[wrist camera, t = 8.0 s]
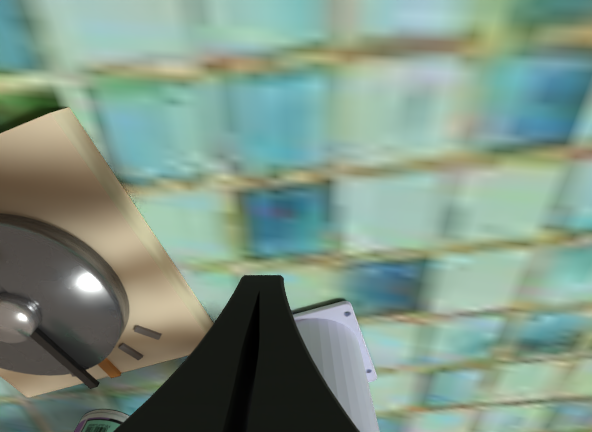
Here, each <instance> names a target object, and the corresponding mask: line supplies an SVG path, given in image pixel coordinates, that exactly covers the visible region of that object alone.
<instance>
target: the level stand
mask: <svg viewBox="0 0 592 432" xmlns="http://www.w3.org/2000/svg"><path fill="white" fill-rule="evenodd" d="M0 213H3V214H12V215H18V216H23V217H27V218H31V219H35V220H38V221H41V222H44V223H46V224H49V225H52V226H54V227H56V228H58V229H61V230H63V231H65V232H67V233H69V234H70V235H72V236H74V237H76V238H77V239H79V240H81V241H82V242H83V243H85V244H86V245H88V246H89V247H90V248H92V249H93V250H94V251H95V252H96V253H98V254H99V255H100V256H101V257H102V258H103V259H104V260H105V261H106V262H107V263H108V264H109V265H110V266H111V267H112V269H113V270H114V271H115V273H116V274H117V275H118V277H119V279H120V280H121V282H122V284H123V286H124V288H125V291H126V293H127V296H128V301H129V312H130V313H129V319H128V323H127V325H126V328H125V330H124V332H123V333H122V335H121V337H120V339H119V340H118V342H117V344H116V345H115V347H114V349H113V350H112V352H111V353H110V354H109V355H108V357H107V358H106V359H104V360H103V361H102V362H100V363H99V364H97V365H95V366H94V367H92V368H89V369H87V370H86V371H87V372H88V373H89V374H90V375H92V376H93V377H94V378H95V379H96V380H97V379H101V378H105V377H108V376H110V377H111V378H114V377H118V376H120V375H121V373H124V372H127V371H131V370H135V369H139V368H143V367H146V366H150V365H154V364H158V363H161V362H165V361H169V360H173V359H177V358H180V357H184V356H188V355H190V354H191V353H192V351H193V350H194V349H195V348H196V347H197V345H198V344H199V343H200V341H201V340H202V339H203V337H204V336H205V335H206V333H207V332H208V331H209V329H210V328H211V327H212V325H213V324H214V323H213V321H212V320H211V318H210V317H209V315H208V314H207V312H206V311H205V309H204V308H203V307H202V305H201V304H200V302H199V301H198V299H197V298H196V296H195V295H194V293H193V292H192V290H191V289H190V287H189V286H188V284H187V283H186V281H185V280H184V278H183V277H182V275H181V274H180V272H179V271H178V269H177V268H176V266H175V265H174V263H173V262H172V260H171V259H170V257H169V256H168V254H167V253H166V251H165V250H164V248H163V247H162V245H161V244H160V242H159V241H158V239H157V238H156V236H155V235H154V233H153V232H152V230H151V229H150V227H149V226H148V224H147V223H146V221H145V220H144V218H143V217H142V215H141V214H140V212H139V211H138V209H137V208H136V206H135V205H134V203H133V202H132V200H131V199H130V197H129V196H128V194H127V193H126V191H125V190H124V188H123V187H122V185H121V184H120V182H119V181H118V179H117V178H116V176H115V175H114V173H113V172H112V170H111V169H110V167H109V166H108V164H107V163H106V161H105V160H104V158H103V157H102V155H101V154H100V152H99V151H98V149H97V148H96V146H95V145H94V143H93V142H92V141H91V139H90V138H89V136H88V135H87V133H86V132H85V130H84V129H83V127H82V126H81V124H80V123H79V121H78V120H77V118H76V117H75V115H74V114H73V112H72V111H71V109H70V108H69V107H68V108H65V109H61V110H58V111H55V112H51V113H49V114H46V115H44V116H41V117H39V118H37V119H34V120H32V121H29V122H27V123H25V124H22V125H20V126H17V127H15V128H12V129H10V130H8V131H5V132H3V133H0ZM0 376H1V377H2V378H3V379H5V380H6V381H7V382H8V383H10V384H11V385H12V386H13V387H15V388H16V389H17V390H18V391H20V392H21V393H22V394H24V395H25V396H26V397H27V398H29V397H33V396H36V395H40V394H44V393H48V392H52V391H55V390H59V389H63V388H67V387H71V386H74V385H78V384H82V383H83V382H82V381H81V380H80V379H78V378H77V377H76V376H75V375H74V374H66V375H53V376H46V375H32V374H24V373H19V372H14V371H10V370H6V369H2V368H0Z"/></svg>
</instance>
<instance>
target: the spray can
mask: <svg viewBox="0 0 592 432" xmlns="http://www.w3.org/2000/svg"><path fill="white" fill-rule="evenodd" d="M128 417H130V416H128V415H126V414H124V413H121V412H118V411H113V410H94V411H91V412H88V413H86V414H85V415H84V416H83V417H82V419H81V421H80V422H79V424H78V425H77V427H76V429H75V431H74V432H113V431H114V430H115V429H116V428H117V427H118V426H120V425H121V424H122V423H123V422H124V421H125V420H126V419H127V418H128Z"/></svg>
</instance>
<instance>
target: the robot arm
mask: <svg viewBox="0 0 592 432" xmlns="http://www.w3.org/2000/svg"><path fill="white" fill-rule="evenodd" d="M347 311H348V312H347ZM345 312H347V313H345ZM376 379H377V375H376V371H375V369H374V366H373V363H372V360H371V358H370V355H369V352H368V349H367V347H366V344H365V341H364V338H363V335H362V333H361V330H360V327H359V324H358V322H357V319H356V316H355V313H354V310H353V308H352V305H351V303H350V302H348V301H342V302H338V303H334V304H330V305H327V306H323V307H319V308H316V309H312V310H308V311H305V312H301V313H297V314H293V315H292V312H291V309H290V306H289V303H288V300H287V296H286V292H285V288H284V278H283V277H282V276H281V275H244V276H243V277H242V278H241V280H240V282H239V284H238V286H237V288H236V289H235V291H234V293H233V295H232V296H231V298H230V300H229V301H228V303H227V305H226V306H225V308H224V309H223V311H222V312H221V314H220V315H219V317H218V318H217V320H216V321H215V323H214V324H213V325H212V327H211V328H210V329H209V331H208V332H207V333H206V335H205V336H204V337H203V339H202V340H201V341H200V343H199V344H198V345H197V347H196V348H195V349H194V350H193V351H192V353H191V354H190V355H189V356H188V357H187V359H186V360H185V361H184V362H183V363H182V364H181V365H180V367H179V368H178V369H177V370H176V371H175V372H174V373H173V374H172V375H171V376H170V377H169V379H168V380H167V381H166V382H165V383H164V384H163V385H162V386H161V387H160V388H159V389H158V390H157V391H156V392H155V393H154V394H153V395H152V396H151V397H150V398H149V399H148V400H147V401H146V402H145V403H144V404H143V405H142V406H141V407H139V408H138V409H137V410H136V411H135V412H134V413H133V414H132V415H131V416H130V417H128V418H127V419H126V420H125V421H124V422H123V423H122V424H121V425H120V426H118V427H117V428H116V429H115V430H114V431H113V432H380V431H379V427H378V423H377V418H376V414H375V410H374V405H373V401H372V397H371V393H370V388H369V384H368V382H372V381H375V380H376Z"/></svg>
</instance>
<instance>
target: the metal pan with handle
mask: <svg viewBox="0 0 592 432" xmlns="http://www.w3.org/2000/svg"><path fill="white" fill-rule="evenodd" d="M129 313H130V312H129V301H128V296H127V293H126V291H125V288H124V286H123V284H122V282H121V280H120V279H119V277H118V275H117V274H116V273H115V271H114V270H113V269H112V267H111V266H110V265H109V264H108V263H107V262H106V261H105V260H104V259H103V258H102V257H101V256H100V255H99V254H98V253H96V252H95V251H94V250H93V249H92V248H90V247H89V246H88V245H86V244H85V243H83V242H82V241H81V240H79V239H77V238H76V237H74V236H72V235H70V234H69V233H67V232H65V231H63V230H61V229H58V228H56V227H54V226H52V225H49V224H46V223H44V222H41V221H38V220H35V219H31V218H27V217H23V216H18V215H12V214H3V213H0V368H2V369H6V370H10V371H14V372H19V373H24V374H32V375H46V376H53V375H66V374H74V375H75V376H76V377H77V378H78V379H80V380H81V381H82V382H83V383H84V384H85V385H87V386H88V387H89V388H90V389H91V388H95V387H98V385H99V382H98V381H97V380H96V379H95V378H94V377H93V376H92V375H90V374H89V373H88V372H87V371H86V370H87V369H89V368H92V367H94V366H95V365H97V364H99V363H100V362H102V361H103V360H104V359H106V358H107V357H108V355H109V354H110V353H111V352H112V350H113V349H114V347H115V345H116V344H117V342H118V340H119V339H120V337H121V335H122V333H123V332H124V330H125V328H126V325H127V323H128V319H129Z"/></svg>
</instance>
